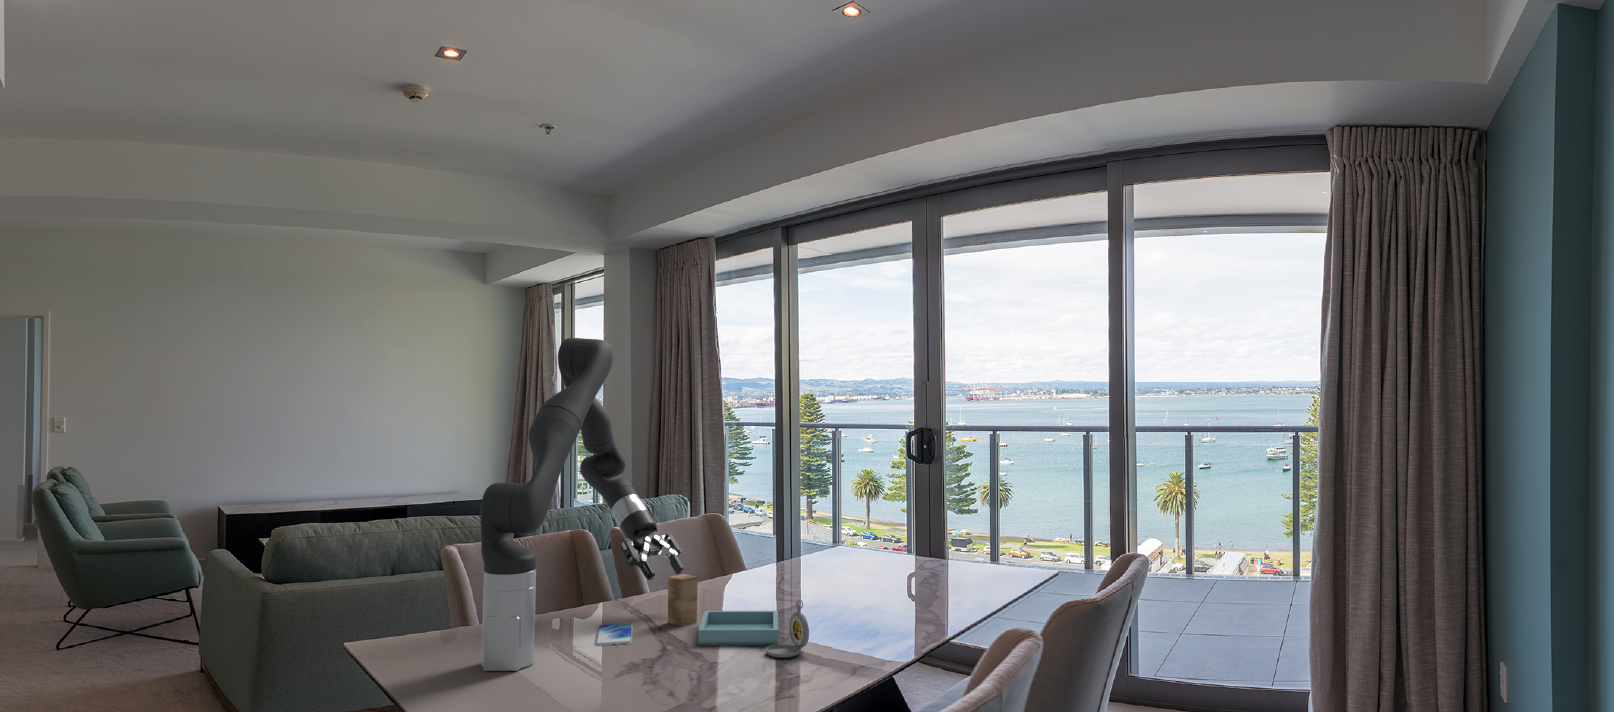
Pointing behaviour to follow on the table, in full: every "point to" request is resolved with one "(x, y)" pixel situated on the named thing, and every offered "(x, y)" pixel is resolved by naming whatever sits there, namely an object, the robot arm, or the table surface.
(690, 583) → the walnut block
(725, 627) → the tray
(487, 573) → the robot arm
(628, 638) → the smartphone
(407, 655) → the table surface
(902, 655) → the table surface
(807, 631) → the pocket watch
